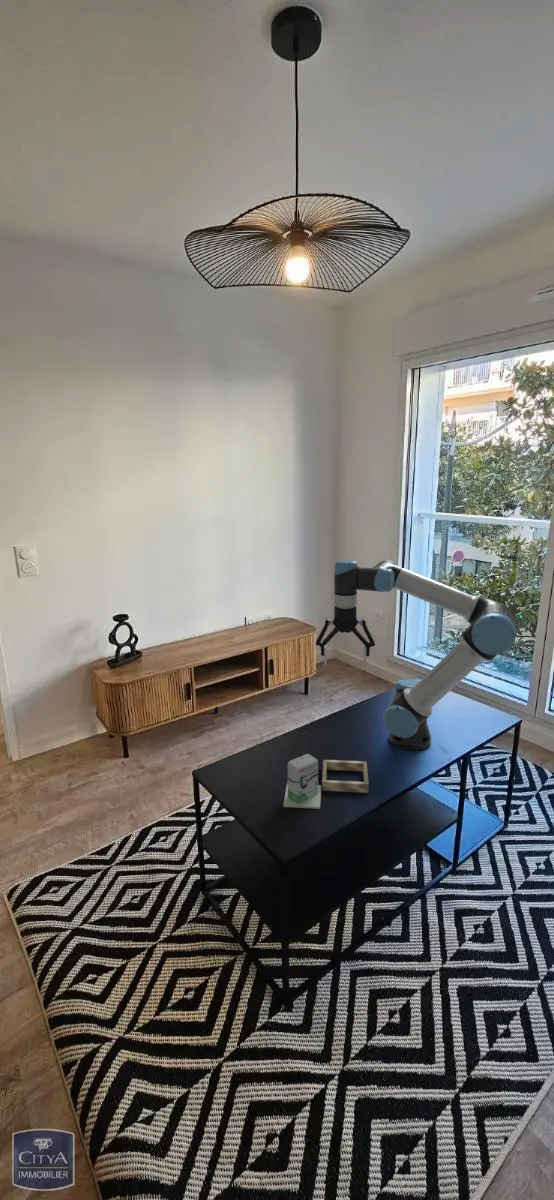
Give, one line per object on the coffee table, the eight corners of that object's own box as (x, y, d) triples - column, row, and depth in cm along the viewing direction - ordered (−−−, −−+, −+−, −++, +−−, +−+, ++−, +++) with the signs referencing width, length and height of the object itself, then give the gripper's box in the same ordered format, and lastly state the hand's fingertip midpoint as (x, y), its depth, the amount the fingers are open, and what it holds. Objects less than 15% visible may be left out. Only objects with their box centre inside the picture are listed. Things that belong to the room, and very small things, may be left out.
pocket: (366, 769, 172) (366, 761, 171) (368, 792, 160) (368, 784, 159) (323, 767, 174) (323, 759, 173) (322, 790, 161) (322, 782, 161)
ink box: (297, 804, 154) (296, 769, 151) (287, 796, 158) (286, 762, 155) (318, 793, 159) (318, 759, 156) (308, 785, 163) (308, 752, 160)
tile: (321, 786, 163) (321, 785, 163) (320, 808, 153) (320, 807, 153) (286, 785, 165) (286, 783, 164) (283, 806, 154) (283, 805, 154)
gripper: (381, 603, 176) (380, 661, 181) (309, 602, 179) (309, 659, 184) (383, 608, 169) (382, 669, 174) (308, 608, 172) (308, 667, 177)
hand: (344, 664), depth 179 cm, fingers open, 13 cm apart
